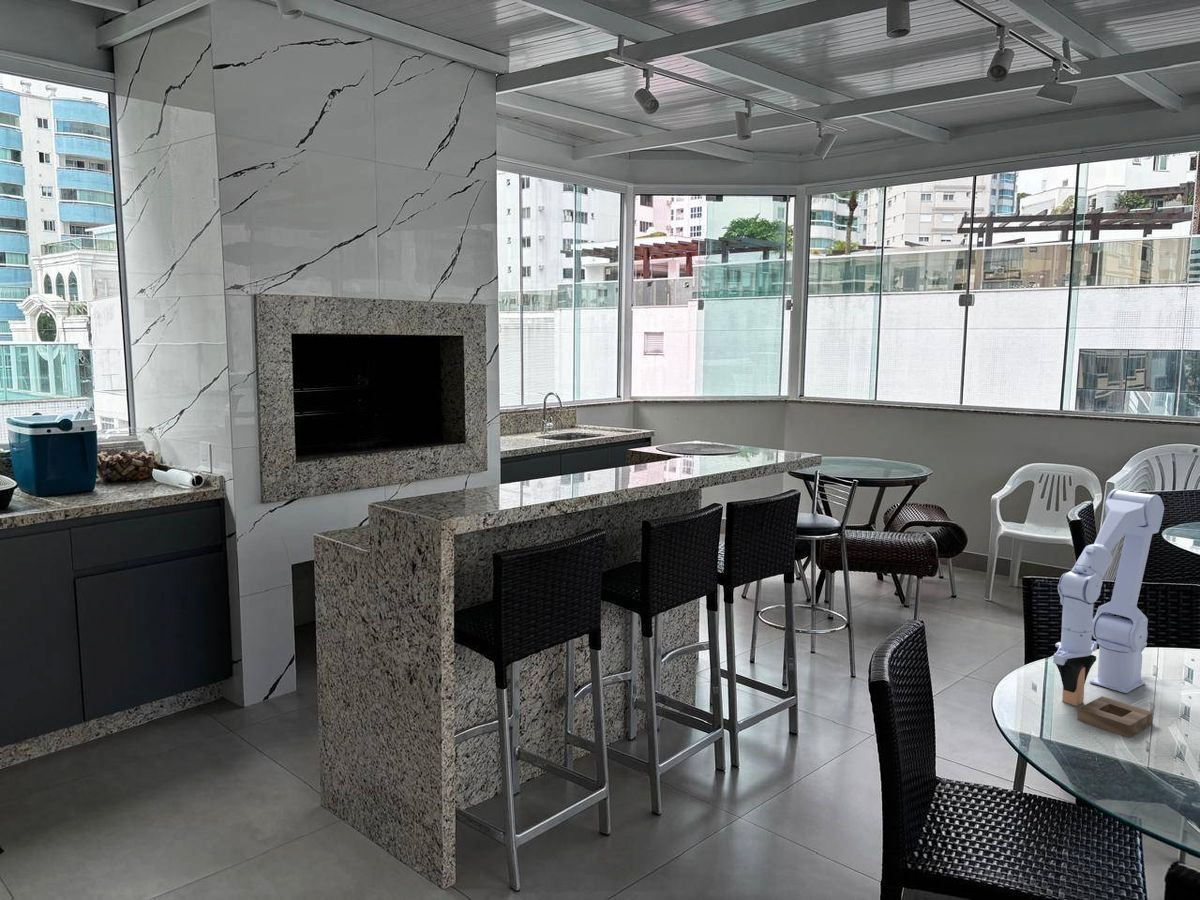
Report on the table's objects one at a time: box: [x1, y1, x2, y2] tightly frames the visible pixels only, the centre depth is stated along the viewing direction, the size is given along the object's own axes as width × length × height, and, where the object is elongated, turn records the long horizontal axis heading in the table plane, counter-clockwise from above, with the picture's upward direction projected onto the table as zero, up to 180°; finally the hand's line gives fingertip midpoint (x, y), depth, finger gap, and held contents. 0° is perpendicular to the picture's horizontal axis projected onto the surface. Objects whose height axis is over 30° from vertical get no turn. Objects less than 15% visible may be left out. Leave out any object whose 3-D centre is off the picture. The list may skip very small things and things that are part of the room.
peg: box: [1061, 667, 1086, 707], centre depth 189 cm, size 3×3×8 cm
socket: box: [1077, 695, 1154, 738], centre depth 180 cm, size 10×10×2 cm
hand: (1073, 688), depth 189 cm, fingers closed on peg, 3 cm apart
